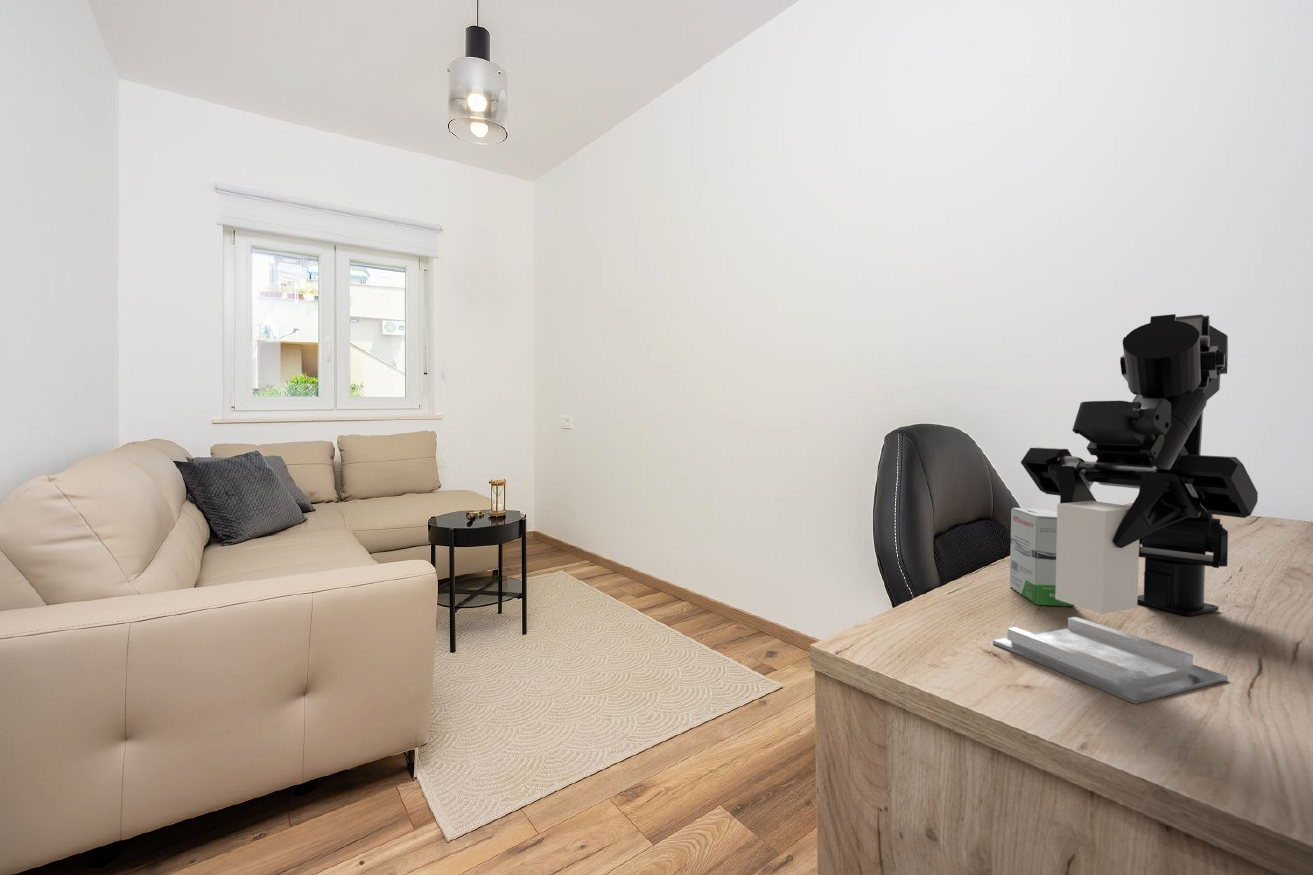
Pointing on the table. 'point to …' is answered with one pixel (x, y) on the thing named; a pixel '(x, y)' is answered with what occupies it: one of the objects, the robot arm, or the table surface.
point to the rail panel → (1111, 660)
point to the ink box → (1034, 555)
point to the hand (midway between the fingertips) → (1088, 539)
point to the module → (1095, 558)
